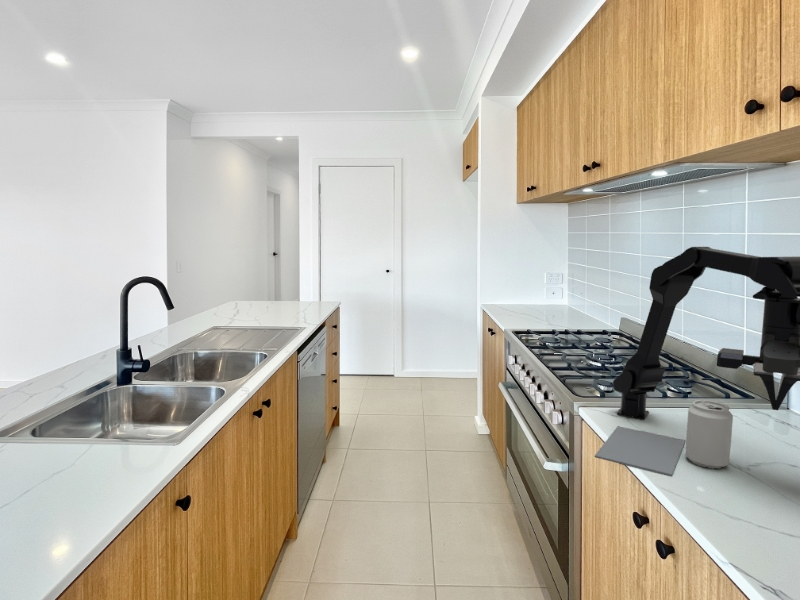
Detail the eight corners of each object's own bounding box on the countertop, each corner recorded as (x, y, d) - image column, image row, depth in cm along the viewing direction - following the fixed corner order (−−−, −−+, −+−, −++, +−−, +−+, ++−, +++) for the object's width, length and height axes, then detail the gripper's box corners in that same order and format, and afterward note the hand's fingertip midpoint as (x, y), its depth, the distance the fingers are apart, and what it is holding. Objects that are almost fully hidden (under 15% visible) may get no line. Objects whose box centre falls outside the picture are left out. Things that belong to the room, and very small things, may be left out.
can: (708, 472, 93) (712, 412, 91) (676, 456, 100) (679, 399, 98) (738, 467, 95) (743, 408, 93) (705, 452, 102) (709, 396, 100)
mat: (617, 427, 115) (617, 426, 115) (685, 441, 107) (685, 439, 107) (594, 457, 99) (594, 455, 99) (672, 476, 91) (672, 474, 91)
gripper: (717, 327, 87) (711, 411, 89) (859, 338, 76) (849, 434, 77) (721, 319, 96) (716, 396, 97) (849, 328, 85) (841, 415, 86)
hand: (775, 409), depth 89 cm, fingers closed
